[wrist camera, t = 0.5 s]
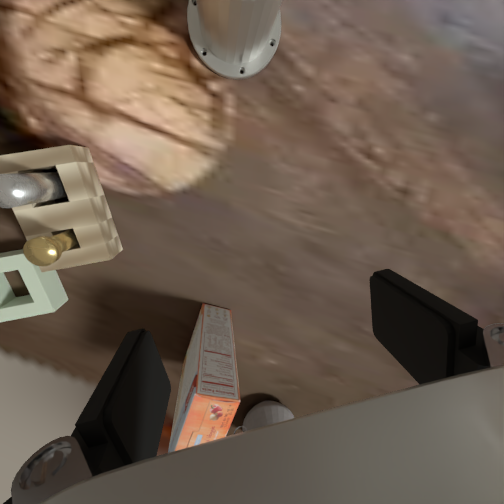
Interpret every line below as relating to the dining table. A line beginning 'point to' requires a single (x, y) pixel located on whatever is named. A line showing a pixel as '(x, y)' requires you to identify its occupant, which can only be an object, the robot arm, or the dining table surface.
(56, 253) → the brass knobbed peg
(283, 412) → the coffee pot
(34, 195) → the steel rod
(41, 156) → the socket block
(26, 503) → the robot arm
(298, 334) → the dining table surface
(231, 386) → the cracker box
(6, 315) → the block
